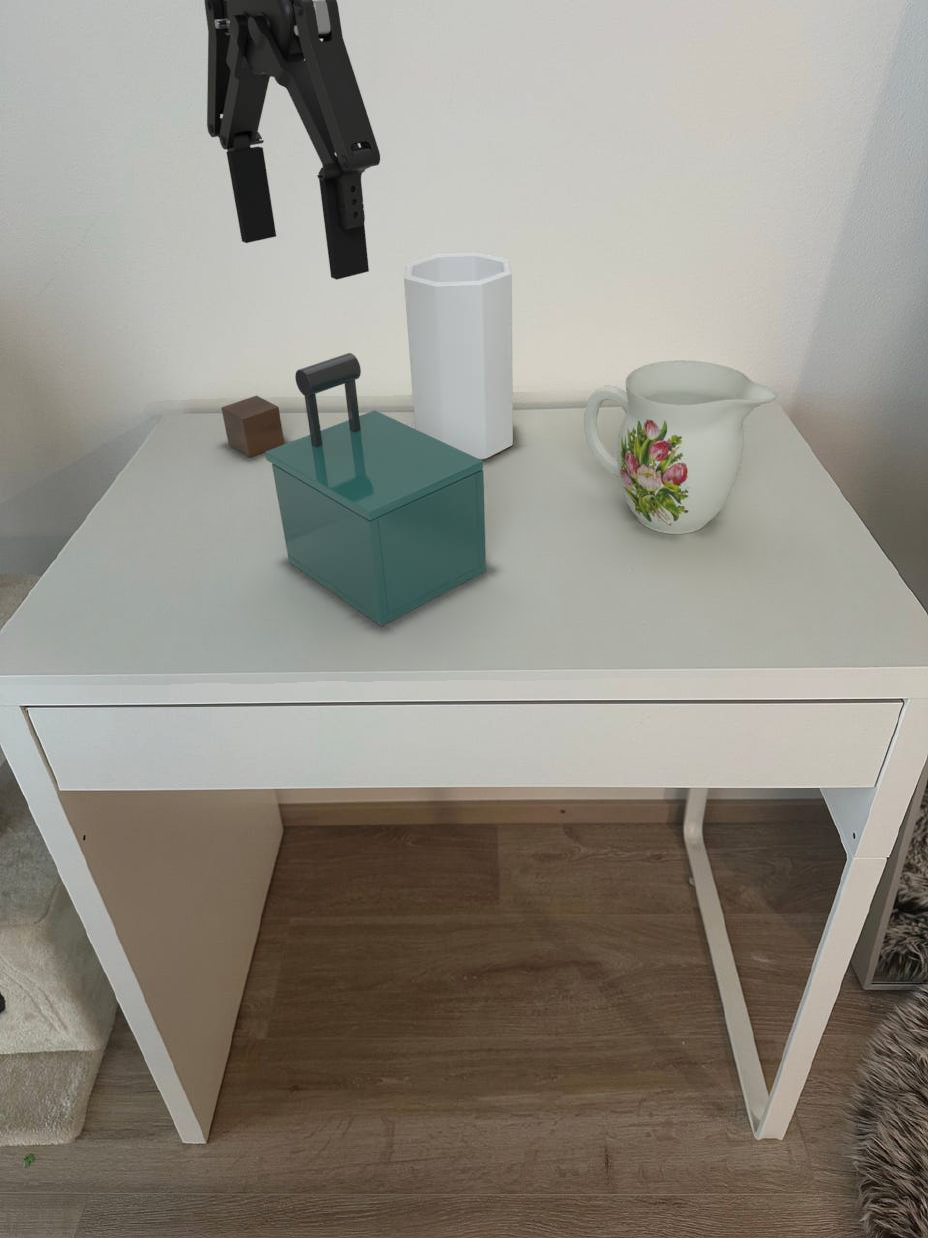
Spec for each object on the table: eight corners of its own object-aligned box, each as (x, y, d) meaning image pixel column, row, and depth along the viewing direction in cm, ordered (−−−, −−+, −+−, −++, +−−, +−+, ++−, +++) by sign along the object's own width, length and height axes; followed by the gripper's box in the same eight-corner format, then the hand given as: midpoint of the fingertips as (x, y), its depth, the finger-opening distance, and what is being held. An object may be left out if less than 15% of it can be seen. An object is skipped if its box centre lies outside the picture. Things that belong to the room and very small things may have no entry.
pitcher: (612, 465, 97) (620, 334, 88) (778, 516, 87) (804, 375, 79) (551, 508, 90) (554, 371, 82) (723, 569, 80) (746, 420, 72)
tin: (288, 562, 84) (271, 463, 78) (390, 515, 90) (381, 420, 84) (381, 626, 76) (369, 521, 70) (486, 570, 82) (483, 469, 76)
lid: (266, 460, 79) (250, 374, 74) (375, 417, 85) (367, 336, 80) (369, 521, 70) (359, 428, 65) (483, 469, 76) (481, 380, 71)
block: (228, 445, 104) (220, 407, 101) (263, 432, 106) (256, 395, 104) (249, 458, 101) (242, 419, 98) (285, 444, 103) (278, 406, 101)
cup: (489, 411, 109) (485, 245, 98) (532, 449, 100) (534, 272, 89) (399, 430, 105) (385, 261, 94) (436, 471, 97) (425, 291, 86)
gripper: (419, -112, 52) (440, 279, 64) (218, -92, 68) (266, 217, 81) (301, -109, 48) (348, 305, 61) (119, -89, 64) (185, 235, 77)
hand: (301, 256), depth 71 cm, fingers open, 13 cm apart
